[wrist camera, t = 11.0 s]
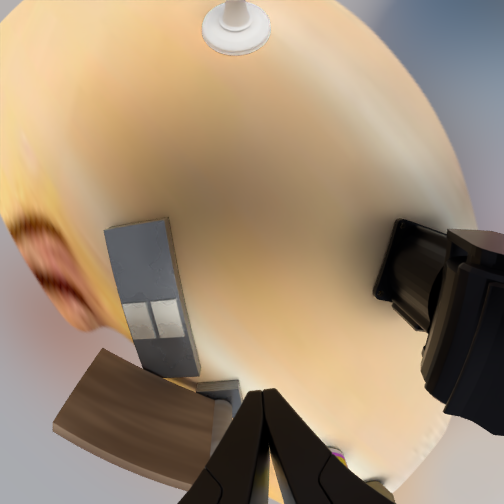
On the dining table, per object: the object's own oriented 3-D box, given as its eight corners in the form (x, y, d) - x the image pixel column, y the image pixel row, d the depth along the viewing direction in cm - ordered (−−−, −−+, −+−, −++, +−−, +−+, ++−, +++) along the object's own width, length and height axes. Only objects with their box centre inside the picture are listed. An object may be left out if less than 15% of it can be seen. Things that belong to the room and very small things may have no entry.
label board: (209, 211, 20) (207, 213, 18) (244, 407, 24) (244, 418, 23) (110, 227, 20) (102, 230, 18) (166, 411, 24) (164, 421, 23)
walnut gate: (103, 344, 20) (51, 421, 11) (236, 404, 22) (236, 495, 13) (98, 360, 21) (51, 435, 12) (226, 417, 23) (223, 504, 14)
